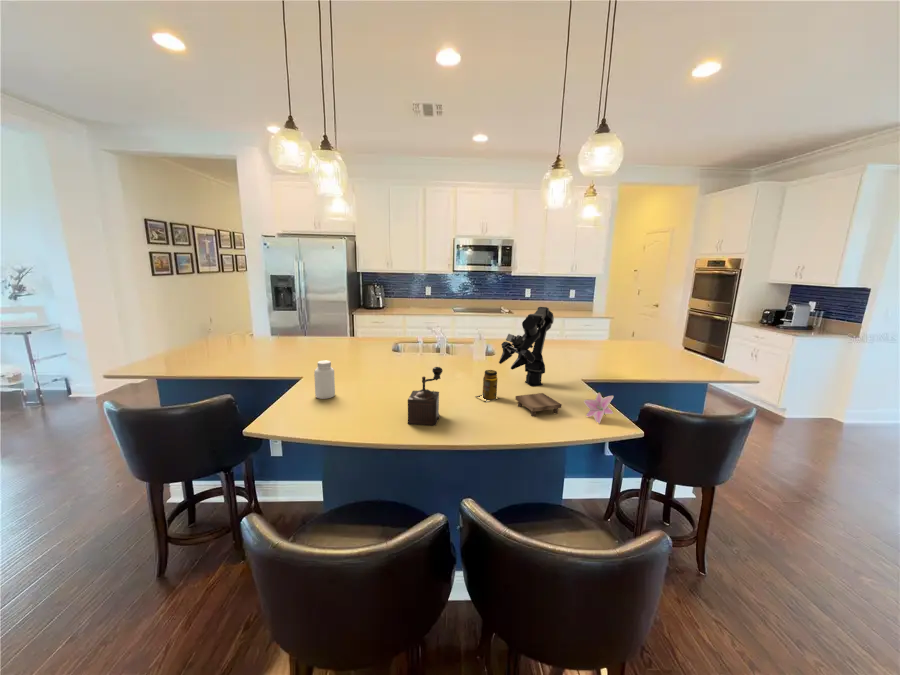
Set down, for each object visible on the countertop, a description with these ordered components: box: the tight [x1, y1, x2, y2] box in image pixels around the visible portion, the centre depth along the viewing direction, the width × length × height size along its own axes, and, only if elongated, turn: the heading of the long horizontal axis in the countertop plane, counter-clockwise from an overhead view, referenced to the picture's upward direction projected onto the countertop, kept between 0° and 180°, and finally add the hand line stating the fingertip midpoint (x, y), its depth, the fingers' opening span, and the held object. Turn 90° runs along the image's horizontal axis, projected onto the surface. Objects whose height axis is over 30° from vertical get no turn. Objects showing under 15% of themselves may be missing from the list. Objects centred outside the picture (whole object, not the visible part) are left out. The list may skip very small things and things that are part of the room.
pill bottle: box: [313, 359, 336, 400], centre depth 156 cm, size 8×8×15 cm
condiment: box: [474, 369, 498, 403], centre depth 159 cm, size 7×8×12 cm
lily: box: [583, 392, 614, 424], centre depth 141 cm, size 12×12×10 cm
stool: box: [514, 392, 563, 418], centre depth 149 cm, size 13×13×4 cm
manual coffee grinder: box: [407, 366, 443, 427], centre depth 138 cm, size 16×11×18 cm
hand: (505, 366), depth 160 cm, fingers open, 9 cm apart
